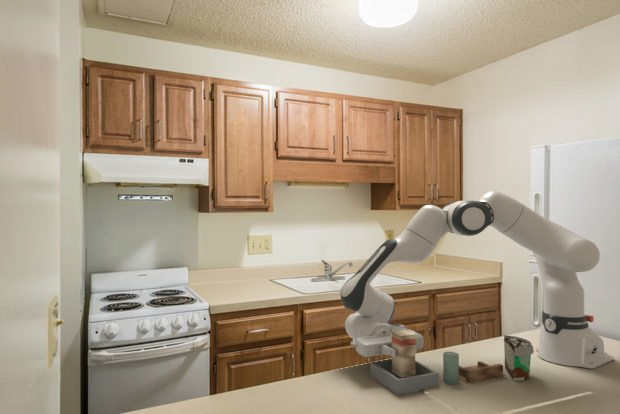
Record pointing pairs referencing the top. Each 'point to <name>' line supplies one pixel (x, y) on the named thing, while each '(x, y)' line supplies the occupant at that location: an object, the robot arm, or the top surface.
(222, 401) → the top surface
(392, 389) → the grey tray
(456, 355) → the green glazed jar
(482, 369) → the walnut rack
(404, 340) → the birch block
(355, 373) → the top surface
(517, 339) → the food container
